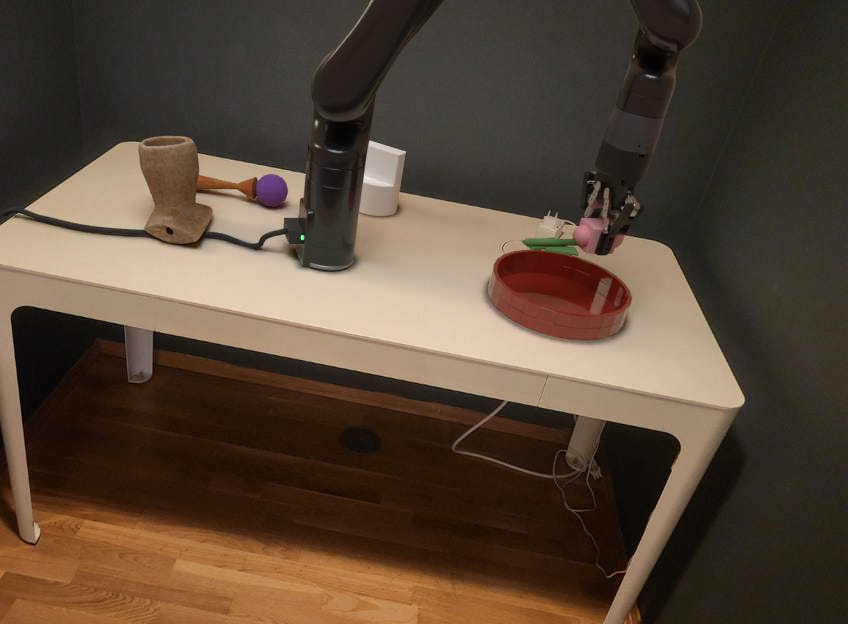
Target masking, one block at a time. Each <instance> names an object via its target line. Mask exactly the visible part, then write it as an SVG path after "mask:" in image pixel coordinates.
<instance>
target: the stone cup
mask: <svg viewBox="0 0 848 624" xmlns="http://www.w3.org/2000/svg"><path fill="white" fill-rule="evenodd" d="M137 149H138V150H137V151H138V159H139V167H140V170H141V173H142V175H143V178H144V180H145V182H146V185H147V187H148V190H149V193H150V195H151V198H152V201H153V204H154V205H153V206H154V207H153V210H152V212H151V214H150V215H149V217H148V219H147V221H146V223H145V225H144V226H143V230H145V231H147V232H148V233H150V234H152V235H151V236H152V237H155V238H157V239H159V240H161V241H164V242H167V243H170V244H178V245H180V244H190V243H195V242H197V241H198V240H200V238H201V237H202V236H201V235H202V234H203V232H204V231H206V229H207V227H208V225H209V223H210V222H211V219H212V216H213V212H214V211H213V208H212V206H210V205H207V204H203V203H198V202H197V201H196V199H197V189H196V188H197V182H198V177H199V175H200V163H199V154H198V149H197V145H196V144H195V142H194V140H193V139H192V138H190V137H188V136H183V135H175V136H174V135H161V136H152V137H148V138H144V139H143V140H142V141H140V143H139V145H138V147H137Z"/></svg>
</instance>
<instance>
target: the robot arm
mask: <svg viewBox="0 0 848 624" xmlns="http://www.w3.org/2000/svg"><path fill="white" fill-rule="evenodd" d="M444 1H445V0H367V2H366V4H365V6H364V7H363V9H362V11H361V13H360V15H359V16H358V18H357V19H356V21H354V24H353V25H352V26H351V28H350V29H349V31H348V32H347V33H346V34H345V36H344V37H343V38H342V40H340V42H339V43H338V45H337V46H335V48H334V49H333V50H331V51H329V53H327V54H326V55H325V56H324V57H323V58H322V59H321V61H320V62H319V64H318V65H317V67H316V68H315V70H314V72H313V73H312V74H313V75H312V78H311V81H310V96H311V100H312V104H313V113H312V121H311V127H310V132H309V136H308V141H307V152H306V164H305V175H304V188H303V197H300V198H299V206H298V217H283V225H282V226H283V227H282V228H280V229H275V230H272V231H268V232H266V233H264V234H262V235H261V236H260V238H259V240H258V242H255V243H253V242H246V241H243V240H241V239H239V238H236V237H234V236H231V235H229V234H227V233H223V232H217V231H209V230H204V232H203V234H202V235H201V237H202V238H203V237H204V238H215V239H221V240H224V241H228V242H229V243H233V244H235V245H237V246H241V247H243V248H248V249H251V250H258V249H261V248H262V247H263V246H264V244H265V242H266V241H267V240H268V239H271V238H274V237H279V236H283V235H284V236H285V238H286V240H287V243H288V245H295V251H296V255H297V258H298V259H299V261H300V264H301V266H302V267H310V268H313V269H316V270H322V271H340V270H345V269H347V268H349V267H351V266H352V265H353V263H354V258H355V257H354V256H355V255H354V254H355V246H356V245H355V244H356V239H357V231H358V223H359V216H360V212H359V210H360V202H361V195H362V187H363V180H364V173H365V165H366V157H367V151H368V146H369V140H370V141H371V132H372V125H373V118H374V112H375V105H376V98H377V97H376V96H377V92H378V91H379V89H380V87H381V85H382V84H383V82H384V80H385V78H386V77H387V75H388V73H389V71H390V70H391V68H392V67H393V65H394V63H395V62H396V60H397V59H398V58H399V56H400V54H401V53H402V51H403V50H404V49H405V47H406V46H407V45H408V44H409V42H410V41H411V40H412V39H413V38H414V37H415V36H416V35H417V34H418V33H419V31H420V30H421V29H422V28H423V27H424V26H425V25H426V24H427V22H428V21H429V20H430V18H431V17H432V16H433V15H434V14H435V12H437V10H438V9H439V8H440V7H441V5H442V4H443V3H444ZM627 2H628V5H629V6H630V8H631V11H632V12H633V14H634V16H635V17H636V20H637V21H638V22H637V27H636V29H635V35H634V37H633V38H634V39H633V43H632V49H631V51H630V58H629V64H628V66H627V67H628V68H627V70H626V73H625V76H624V78H623V81H622V83H621V87H620V90H619V93H618V95H617V98H616V102H615V105H614V108H613V110H612V112H611V114H610V116H609V119H608V121H607V125H606V128H605V130H604V134H603V137H602V140H601V143H600V146H599V149H598V152H597V156H596V159H595V162H594V166H595V169H596V170H597V171H591V170H589V171H588V170H586V171H584V173H583V179H582V186H581V193H580V200H579V201H580V202H579V209H580V210H582V211H583V218H604V223H603V230H602V231H603V232H601V234H600V237H599V240H598V243H597V246H596V249H595V253H596V254H595V255H596V256H601V257H603V256H605V257H606V256H608V255H610V254H609V253H610V251H611V248H612V245H613V243H614V240H615V237H616V236H617V235H623V236H624V237H625V236H628V235H629V233H630V231H631V230H632V228H633V227H634V225H635V223H636V222H637V220H638V219H639V217H640V216H641V214H642V213H643V212H644V209H645V204H644V203H642V202H638V201H637V199H636V198H635V194H636V187H637V184H638V183H639V182H640V181H642V180H643V179H645V177H646V175H647V172H648V169H649V166H650V164H651V162H652V159H653V156H654V153H655V150H656V147H657V145H658V142H659V139H660V137H661V133H662V130H663V125H664V120H665V117H666V115H667V112H668V108H669V106H670V104H671V101H672V97H673V95H674V93H675V88H676V83H677V76H676V75H677V74H676V71H677V66H678V63H679V60H680V57H681V54H682V51H684V50H686V49H687V48H689V47H691V45H692V44H694V43H695V41H696V40H697V39H698V37H699V35H700V33H701V30H702V27H703V12H702V9H701V7H700V4H699V2H698V0H627ZM589 195H590V196H589ZM611 211H615V212H611ZM616 211H617V212H616ZM11 214H21V215H23V216H26V217H29V218H31V219H34V220H37V221H41V222H45V223H49V224H53V225H57V226H61V227H66V228H69V229H75V230H80V231H86V232H92V233H93V232H94V233H100V234H101V233H103V234H111V235H112V234H113V235H127V236H128V235H129V236H153V235H152V234H150V233H148V232H147V231H145V229H138V228H137V229H135V228H134V229H133V228H121V227H120V228H119V227H106V226H97V225H89V224H83V223H77V222H72V221H69V220H63V219H60V218H57V217H56V218H55V217H52V216H47V215H43V214H39V213H36V212H33V211H31V210H29V209H25V208H23V207H19V206H11V207H7V208H6V209H4V210H3V211H2V212H1V213H0V216H1V217H7V216H9V215H11ZM612 220H614V222H613V223H614V224H613V226H611V222H612Z"/></svg>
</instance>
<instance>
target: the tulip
mask: <svg viewBox="0 0 848 624" xmlns="http://www.w3.org/2000/svg"><path fill="white" fill-rule="evenodd" d="M603 223H604V218H603V217H601V218H585V217H581V218H580V222H579V224H578V226H577V227H576V228H574V229H573V231H572V235H571V237H572V238H556V237H543V238H537V237H536V238H535V237H534V238H532V237H531V238H530V237H528V238H524V240H522V241H521V243H522V244H523V245H524V246H525V247H527V248H529V250H533V251H535V250H545V251H546V252H550V253H558V254H566V255H573V256H576V257H579V255H580V253H579V252H578V249H577V248H576V247H579V248H580V249H581V251H583V252H584V253H585V254H586V255H597V254H596V253H595V249H596V246H597V243H598V240H599V237H600V234H601V232H603V231H602V230H603ZM613 224H614V222H613V221H611V226H613ZM624 239H625V236H623V235H617V236H616V237H615V240H614V243H613V245H612V248H611V251H610V253H609V254H608V255H614V252H615V250H616V249H617V248H619V247H620V246H621V245H622V244H623V242H624Z"/></svg>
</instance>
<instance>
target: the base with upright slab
mask: <svg viewBox="0 0 848 624" xmlns="http://www.w3.org/2000/svg"><path fill="white" fill-rule="evenodd" d="M406 153H407V151H405V150H403V149H399V148H395V147H392V146H389V145H385V144H382V143H379V142H376V141H373V140H371V139H370V140H369V146H368V151H367V157H366V165H365V173H364V180H363V187H362V195H361V202H360V210H359V213H362V214H364V215H367V216H372V217H388V216H392V215H394V214H396V213H397V209H398V204H399V199H400V198H399V197H400V191H401V185H402V178H403V172H404V167H405V159H406Z"/></svg>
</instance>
